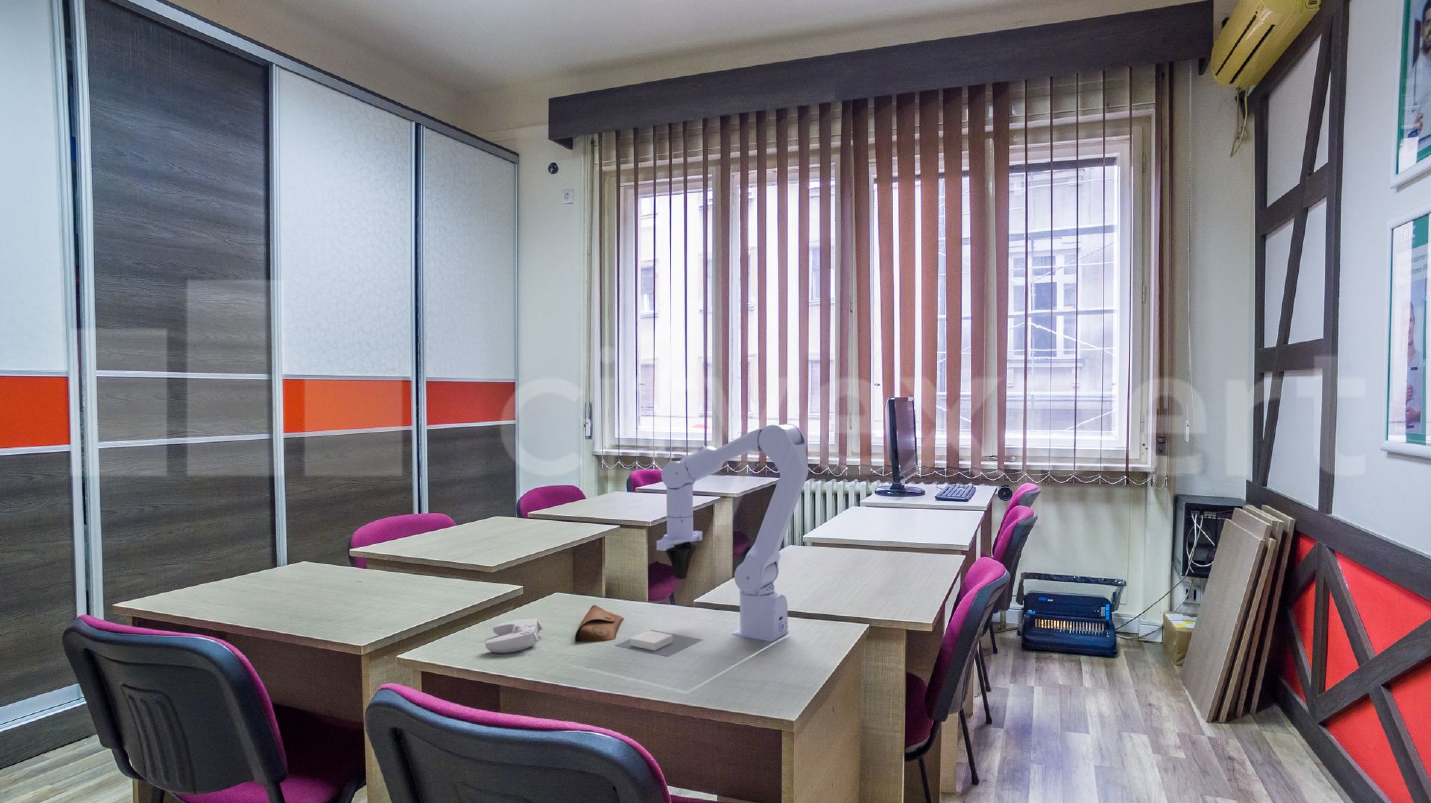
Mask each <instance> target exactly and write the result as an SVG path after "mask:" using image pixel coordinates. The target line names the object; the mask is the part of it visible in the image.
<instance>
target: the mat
mask: <svg viewBox="0 0 1431 803" xmlns="http://www.w3.org/2000/svg"><path fill="white" fill-rule="evenodd" d="M649 631H654V632H659V633H665V634H670V635H673V642H672V643H670V644H668V645H666V646H664V647H662V648H659V649H657V650H655V651H653V650H648V649H643V648H638V647H633V646H630V638H629V639H627V640H624V641H622V642H619V643H617V644H615V645H614V646H615V647H620V648H623V649H629V650H633V651H638V652H643V653H648V654H653V655H658V656H662V657H667V658H668V657H671V656H672V655H674V654H676V653H679V652H681V651H683V650H685V649H687V648H689V647H691V646H693V645H695V644H697V643H699V642H701V641H704V640H703V638H697V637H692V636H687V635H681V634H676V633H675V634H674V633H670V632H664V631H659V630H654V629H651V630H649Z"/></svg>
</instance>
